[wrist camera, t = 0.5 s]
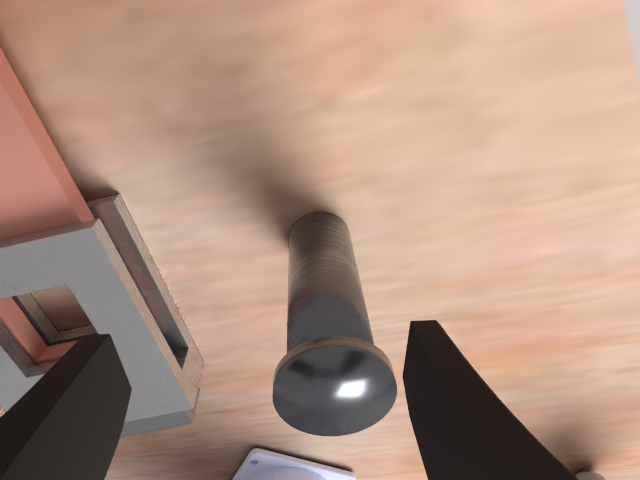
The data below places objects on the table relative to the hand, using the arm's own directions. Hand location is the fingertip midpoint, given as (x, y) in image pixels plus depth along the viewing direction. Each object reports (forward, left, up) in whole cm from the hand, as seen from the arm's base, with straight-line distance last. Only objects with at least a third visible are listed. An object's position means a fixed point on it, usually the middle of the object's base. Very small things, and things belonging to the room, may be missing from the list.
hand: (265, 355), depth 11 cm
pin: (-2, -3, -11) cm, 11 cm away
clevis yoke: (-11, +6, -11) cm, 17 cm away
